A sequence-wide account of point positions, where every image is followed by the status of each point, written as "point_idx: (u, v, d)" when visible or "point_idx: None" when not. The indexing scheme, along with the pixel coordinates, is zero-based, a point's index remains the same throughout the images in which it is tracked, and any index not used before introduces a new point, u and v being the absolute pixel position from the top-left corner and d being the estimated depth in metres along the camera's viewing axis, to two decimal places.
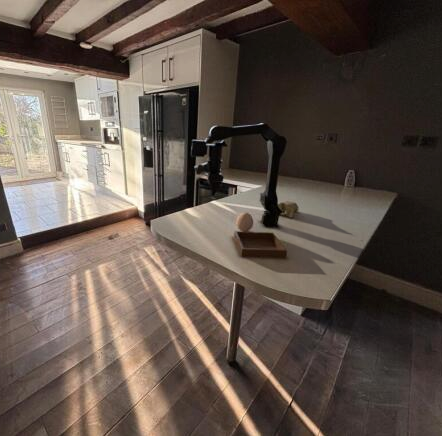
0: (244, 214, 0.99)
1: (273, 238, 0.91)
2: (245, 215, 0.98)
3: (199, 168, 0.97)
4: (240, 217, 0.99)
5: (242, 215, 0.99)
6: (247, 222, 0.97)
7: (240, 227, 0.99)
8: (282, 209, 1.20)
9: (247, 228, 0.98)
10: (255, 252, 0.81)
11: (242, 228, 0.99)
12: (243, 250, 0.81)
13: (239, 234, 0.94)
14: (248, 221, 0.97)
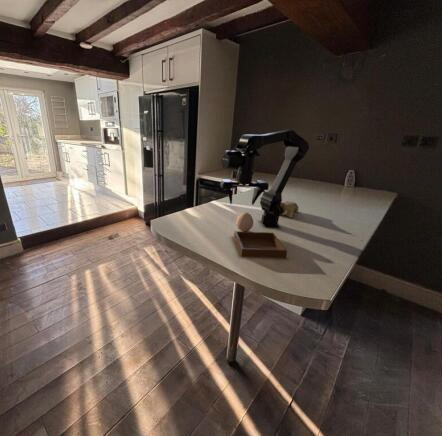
0: (244, 214, 0.99)
1: (273, 238, 0.91)
2: (245, 215, 0.98)
3: (231, 174, 1.01)
4: (240, 217, 0.99)
5: (242, 215, 0.99)
6: (247, 222, 0.97)
7: (240, 227, 0.99)
8: None
9: (247, 228, 0.98)
10: (255, 252, 0.81)
11: (242, 228, 0.99)
12: (243, 250, 0.81)
13: (239, 234, 0.94)
14: (248, 221, 0.97)
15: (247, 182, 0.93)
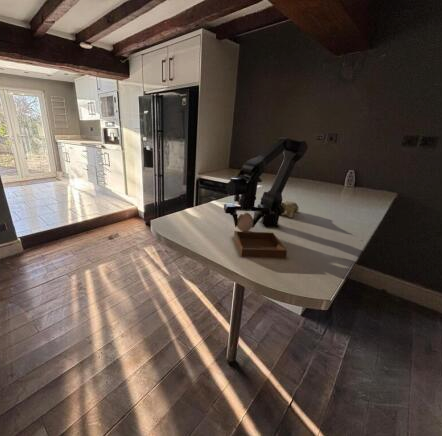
0: (244, 214, 0.99)
1: (273, 238, 0.91)
2: (245, 215, 0.98)
3: (234, 197, 1.04)
4: (240, 217, 0.99)
5: (242, 215, 0.99)
6: (247, 222, 0.97)
7: (240, 227, 0.99)
8: None
9: (247, 228, 0.98)
10: (255, 252, 0.81)
11: (242, 228, 0.99)
12: (243, 250, 0.81)
13: (239, 234, 0.94)
14: (248, 221, 0.97)
15: (250, 207, 0.95)
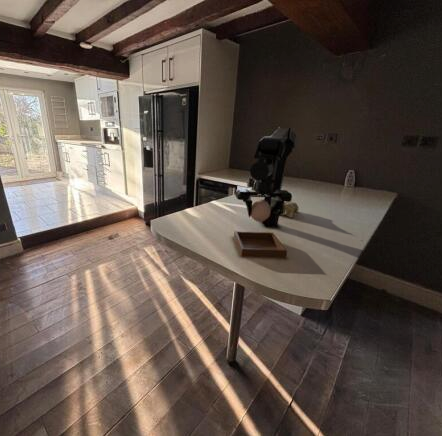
0: (260, 201, 0.83)
1: (273, 238, 0.91)
2: (261, 202, 0.83)
3: (247, 182, 0.88)
4: (255, 205, 0.84)
5: (257, 202, 0.84)
6: (263, 210, 0.82)
7: (255, 216, 0.84)
8: None
9: (263, 217, 0.83)
10: (255, 252, 0.81)
11: (257, 218, 0.84)
12: (243, 250, 0.81)
13: (239, 234, 0.94)
14: (264, 209, 0.82)
15: (267, 192, 0.80)
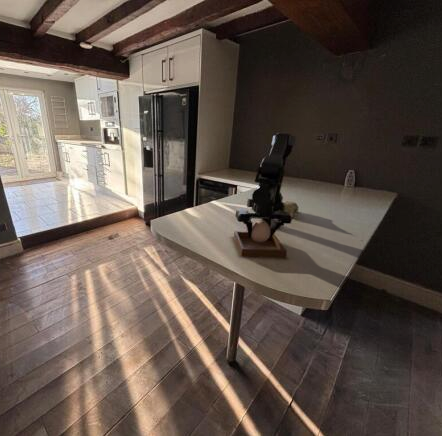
0: (260, 222, 0.84)
1: (273, 238, 0.91)
2: (261, 224, 0.83)
3: (247, 202, 0.89)
4: (255, 226, 0.84)
5: (257, 224, 0.84)
6: (263, 232, 0.83)
7: (255, 238, 0.84)
8: None
9: (263, 239, 0.84)
10: (255, 252, 0.81)
11: (257, 239, 0.84)
12: (243, 250, 0.81)
13: (239, 234, 0.94)
14: (264, 231, 0.83)
15: (267, 215, 0.81)
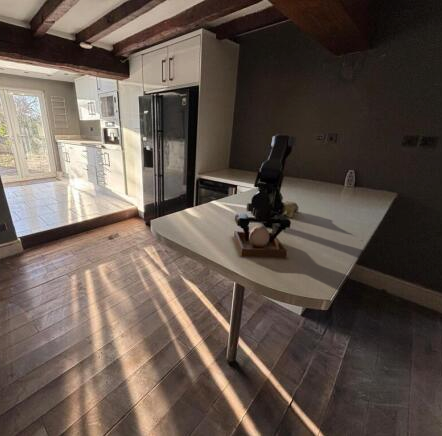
0: (259, 227, 0.85)
1: None
2: (260, 229, 0.84)
3: (247, 206, 0.89)
4: (254, 231, 0.85)
5: (257, 228, 0.85)
6: (262, 236, 0.83)
7: (254, 242, 0.85)
8: None
9: (262, 244, 0.84)
10: (255, 252, 0.81)
11: (257, 244, 0.85)
12: (243, 250, 0.81)
13: (239, 234, 0.94)
14: (264, 236, 0.83)
15: (266, 219, 0.81)
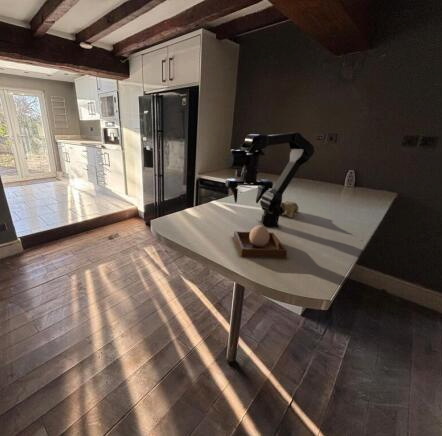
0: (259, 227, 0.85)
1: (273, 238, 0.91)
2: (260, 229, 0.84)
3: (235, 173, 1.03)
4: (254, 231, 0.85)
5: (257, 228, 0.85)
6: (262, 236, 0.83)
7: (254, 242, 0.85)
8: None
9: (262, 244, 0.84)
10: (255, 252, 0.81)
11: (257, 244, 0.85)
12: (243, 250, 0.81)
13: (239, 234, 0.94)
14: (264, 236, 0.83)
15: (252, 181, 0.94)
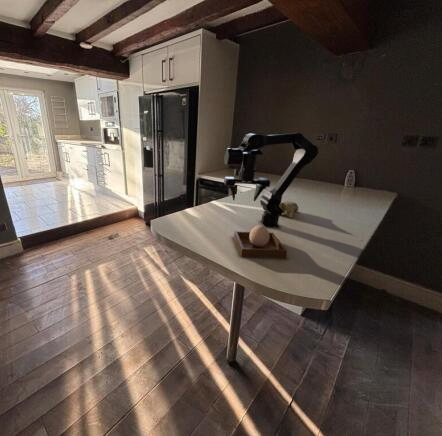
0: (259, 227, 0.85)
1: (273, 238, 0.91)
2: (260, 229, 0.84)
3: (234, 172, 1.05)
4: (254, 231, 0.85)
5: (257, 228, 0.85)
6: (262, 236, 0.83)
7: (254, 242, 0.85)
8: (282, 209, 1.20)
9: (262, 244, 0.84)
10: (255, 252, 0.81)
11: (257, 244, 0.85)
12: (243, 250, 0.81)
13: (239, 234, 0.94)
14: (264, 236, 0.83)
15: (249, 179, 0.97)
